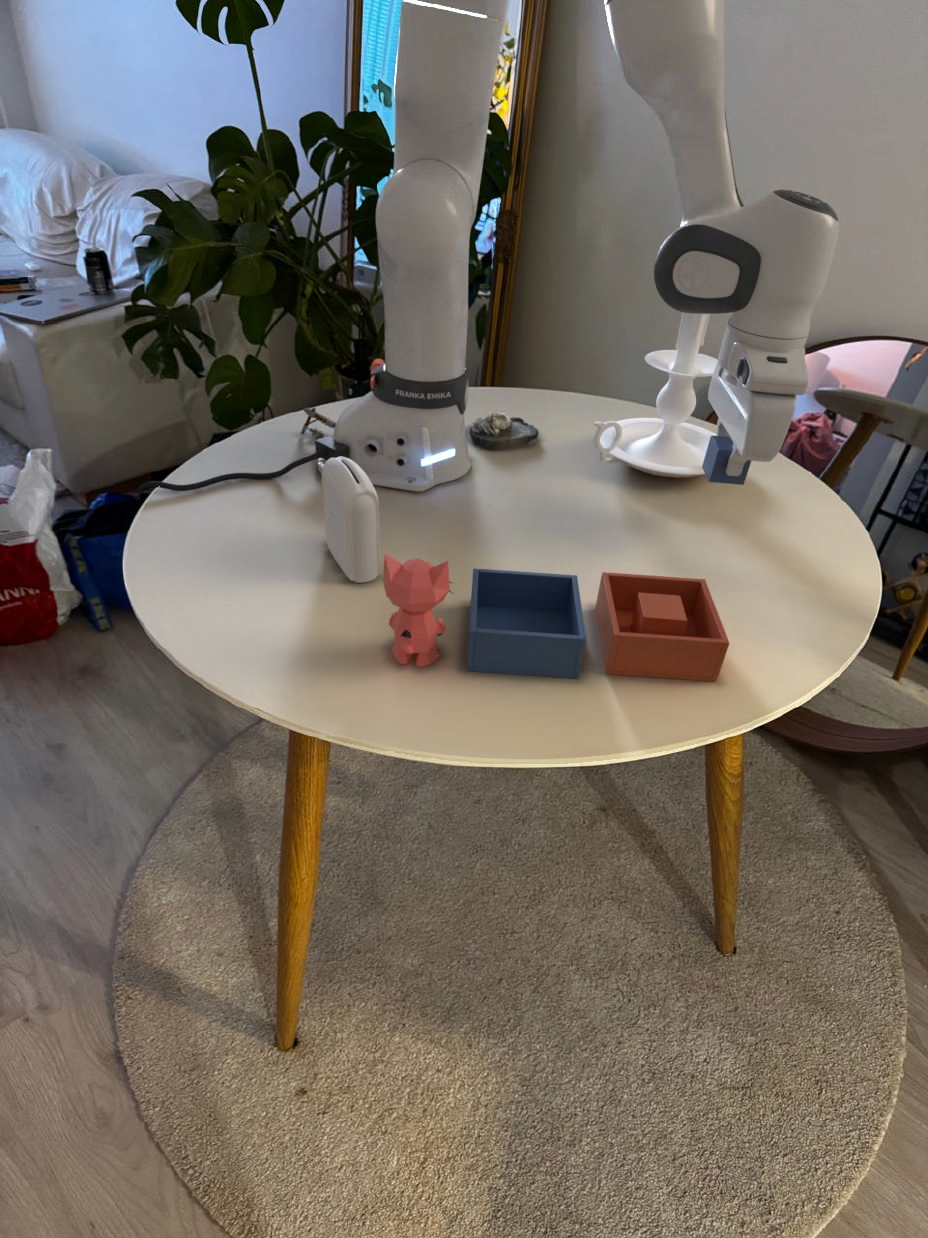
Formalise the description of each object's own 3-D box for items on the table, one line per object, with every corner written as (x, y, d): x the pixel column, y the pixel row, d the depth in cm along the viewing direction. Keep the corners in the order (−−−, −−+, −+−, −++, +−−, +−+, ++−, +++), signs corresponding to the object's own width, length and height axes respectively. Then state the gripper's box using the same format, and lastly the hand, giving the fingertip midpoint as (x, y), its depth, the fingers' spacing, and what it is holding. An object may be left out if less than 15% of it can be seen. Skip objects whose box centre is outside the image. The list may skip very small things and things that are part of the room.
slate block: (708, 482, 95) (718, 449, 92) (701, 466, 98) (710, 435, 96) (743, 485, 95) (754, 452, 92) (735, 469, 98) (745, 438, 96)
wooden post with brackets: (296, 428, 118) (306, 402, 116) (344, 450, 120) (355, 425, 118) (294, 431, 117) (304, 405, 115) (342, 454, 119) (353, 429, 117)
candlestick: (548, 450, 119) (573, 257, 102) (670, 428, 129) (711, 249, 112) (628, 509, 104) (672, 296, 88) (759, 479, 114) (821, 282, 97)
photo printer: (322, 543, 93) (315, 449, 85) (355, 537, 95) (351, 444, 87) (349, 587, 86) (345, 489, 78) (385, 580, 87) (383, 482, 80)
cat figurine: (454, 641, 79) (460, 542, 72) (442, 684, 73) (447, 581, 66) (388, 631, 80) (387, 533, 72) (371, 673, 74) (368, 571, 67)
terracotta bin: (605, 674, 76) (614, 635, 73) (594, 609, 85) (602, 571, 82) (716, 681, 76) (729, 643, 73) (694, 615, 85) (705, 579, 82)
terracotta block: (635, 650, 78) (643, 617, 76) (630, 625, 82) (638, 592, 79) (677, 654, 78) (687, 620, 76) (671, 628, 82) (680, 595, 79)
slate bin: (466, 671, 75) (469, 631, 72) (470, 605, 84) (473, 567, 81) (578, 678, 75) (586, 639, 72) (570, 612, 84) (577, 575, 81)
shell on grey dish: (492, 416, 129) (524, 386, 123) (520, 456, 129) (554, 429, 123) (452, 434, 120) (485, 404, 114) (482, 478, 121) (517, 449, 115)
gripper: (713, 325, 96) (685, 428, 104) (755, 380, 79) (719, 498, 87) (762, 329, 96) (731, 432, 104) (815, 386, 79) (773, 503, 87)
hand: (726, 463), depth 95 cm, fingers closed on slate block, 4 cm apart
